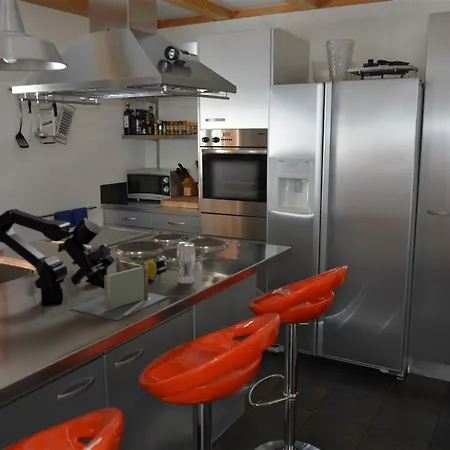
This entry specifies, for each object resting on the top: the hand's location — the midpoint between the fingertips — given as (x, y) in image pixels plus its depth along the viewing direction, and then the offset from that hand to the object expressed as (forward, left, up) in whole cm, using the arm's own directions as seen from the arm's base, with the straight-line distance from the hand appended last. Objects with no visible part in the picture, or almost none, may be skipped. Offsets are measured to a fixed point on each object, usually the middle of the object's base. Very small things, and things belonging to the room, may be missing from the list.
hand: (110, 289), depth 171 cm
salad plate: (+25, +45, -7) cm, 52 cm away
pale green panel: (+5, +1, -6) cm, 8 cm away
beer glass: (+33, +20, -7) cm, 39 cm away
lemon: (+21, +29, -7) cm, 36 cm away
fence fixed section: (+10, +10, -6) cm, 15 cm away
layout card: (+4, +5, -7) cm, 9 cm away
